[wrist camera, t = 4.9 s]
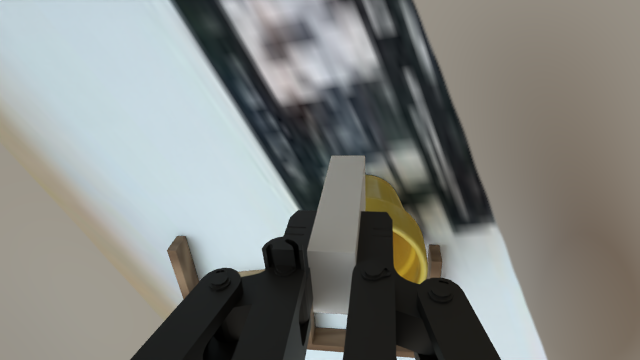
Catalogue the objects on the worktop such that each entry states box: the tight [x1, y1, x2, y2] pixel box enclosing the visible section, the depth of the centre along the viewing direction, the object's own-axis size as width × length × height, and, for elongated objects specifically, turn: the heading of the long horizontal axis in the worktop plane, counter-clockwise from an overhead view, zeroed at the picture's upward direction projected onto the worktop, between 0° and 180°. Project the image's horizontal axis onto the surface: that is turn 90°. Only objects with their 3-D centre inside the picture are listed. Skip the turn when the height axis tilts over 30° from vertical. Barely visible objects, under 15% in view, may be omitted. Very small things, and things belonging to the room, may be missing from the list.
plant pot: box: [365, 175, 428, 284], centre depth 35 cm, size 10×10×10 cm
